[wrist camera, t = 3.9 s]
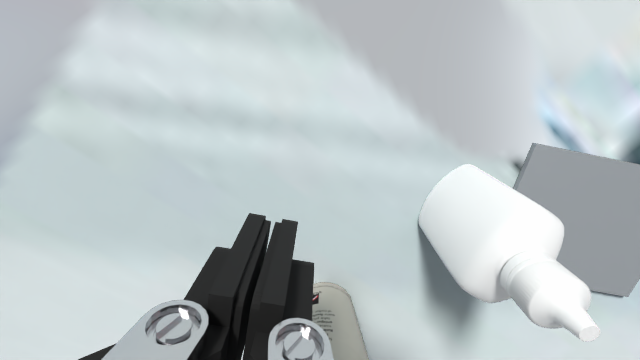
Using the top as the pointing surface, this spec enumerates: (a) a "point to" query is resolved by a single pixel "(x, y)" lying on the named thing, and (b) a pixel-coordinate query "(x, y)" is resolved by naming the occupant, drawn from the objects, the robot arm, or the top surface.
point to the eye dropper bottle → (505, 249)
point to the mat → (589, 213)
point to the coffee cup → (338, 321)
